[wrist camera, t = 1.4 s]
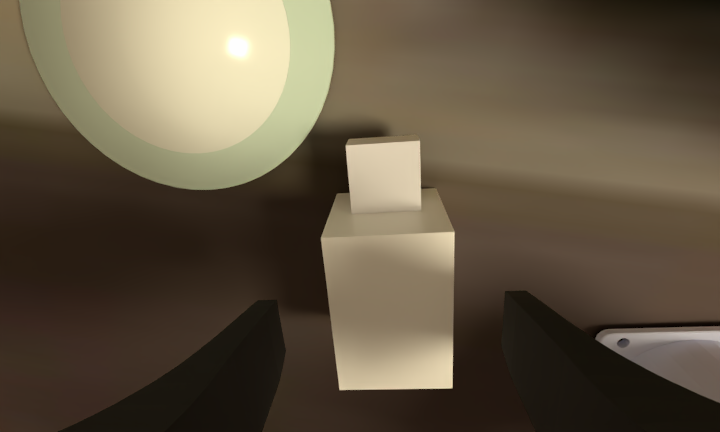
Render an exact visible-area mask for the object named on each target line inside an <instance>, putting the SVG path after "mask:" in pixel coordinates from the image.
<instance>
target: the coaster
mask: <svg viewBox="0 0 720 432" xmlns="http://www.w3.org/2000/svg"><path fill="white" fill-rule="evenodd" d="M19 2H20V11H21V16H22V22H23V27H24V32H25V35H26V39H27V42H28V45H29V49H30V52H31V55H32V57H33V60H34V62H35V64H36V67H37V69H38V72H39V74H40V76H41V78H42V80H43V81H44V83H45V85H46V87H47V89H48V91H49V93H50V94H51V96H52V97H53V99H54V100H55V102H56V103H57V105H58V106H59V108H60V109H61V111H62V112H63V113H64V115H65V116H66V117H67V118H68V119H69V121H70V122H71V123H72V124H73V126H74V127H75V128H76V129H77V130H78V131H79V132H80V133H81V134H82V135H83V136H84V137H85V138H86V139H87V140H88V141H89V142H90V143H91V144H92V145H93V146H95V147H96V148H97V149H98V150H100V151H101V152H102V153H103V154H104V155H106V156H107V157H109V158H110V159H112V160H113V161H115V162H116V163H118V164H119V165H121V166H122V167H124V168H126V169H128V170H130V171H132V172H134V173H136V174H137V175H139V176H142V177H144V178H147V179H149V180H152V181H155V182H157V183H161V184H165V185H169V186H172V187H177V188H184V189H192V190H213V189H221V188H229V187H232V186H236V185H240V184H244V183H246V182H249V181H251V180H254V179H256V178H258V177H261V176H262V175H264V174H266V173H267V172H269V171H271V170H272V169H274V168H276V167H277V166H278V165H279V164H280V163H282V162H283V161H284V160H285V159H287V158H288V157H289V156H290V155H291V154H292V153H293V152H294V151H295V150H296V149H297V148H298V147H299V145H300V144H301V143H302V142H303V141H304V140H305V138H306V137H307V135H308V134H309V133H310V131H311V130H312V128H313V127H314V125H315V123H316V121H317V119H318V117H319V115H320V113H321V111H322V109H323V107H324V104H325V101H326V98H327V95H328V93H329V89H330V85H331V80H332V75H333V71H334V60H335V25H334V18H333V12H332V5H331V1H330V0H19Z"/></svg>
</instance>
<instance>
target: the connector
mask: <svg viewBox="0 0 720 432" xmlns="http://www.w3.org/2000/svg"><path fill="white" fill-rule="evenodd" d="M346 156H347V167H348V178H349V189H350V193H338V194H337V195H336V198H335V200H334V203H333V206H332V209H331V211H330V214H329V217H328V220H327V222H326V225H325V228H324V230H323V233H322V236H321V244H322V252H323V260H324V268H325V277H326V285H327V293H328V301H329V309H330V317H331V325H332V333H333V341H334V349H335V357H336V365H337V373H338V382H339V390H377V389H448V388H453V309H454V230H453V227H452V225H451V223H450V220H449V218H448V216H447V213H446V211H445V208H444V206H443V204H442V201H441V199H440V197H439V194H438V192H437V190H436V188H427V189H421V172H420V140H419V138H418V136H417V135H402V136H387V137H372V138H357V139H348V142H347V144H346Z"/></svg>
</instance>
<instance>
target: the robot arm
mask: <svg viewBox="0 0 720 432" xmlns="http://www.w3.org/2000/svg"><path fill="white" fill-rule="evenodd" d="M623 338H624V339H623ZM620 339H623V340H622V341H620V342H618V341H619V340H620ZM501 346H502V349H503V353H504V356H505V360H506V363H507V366H508V369H509V372H510V375H511V378H512V380H513V382H514V384H515V387H516V389H517V391H518V393H519V396H520V398H521V400H522V402H523V404H524V407H525V409H526V411H527V413H528V415H529V418H530V420H531V422H532V424H533V426H534V428H535V431H536V432H720V326H704V327H665V328H627V329H606V330H603V331H601V332H599V333H598V334H597V336H596V338H595V339H594V338H592V337H591V336H589V335H588V334H586V333H585V332H583V331H582V330H580V329H579V328H577V327H576V326H574V325H573V324H572V323H570V322H569V321H567V320H566V319H564V318H563V317H562V316H560V315H559V314H557V313H556V312H555V311H553V310H552V309H551V308H549V307H548V306H547V305H545V304H544V303H542V302H541V301H540V300H538V299H537V298H536V297H534V296H533V295H531V294H530V293H528V292H527V291H505V301H504V315H503V328H502V342H501ZM285 352H286V350H285V344H284V339H283V333H282V328H281V322H280V317H279V311H278V306H277V300H258V301H257V302H256V303H254V304H253V305H252V306H251V307H249V308H248V309H247V310H246V311H245V312H244V313H243V314H241V315H240V316H239V317H238V318H237V319H236V320H235V321H233V322H232V323H231V324H230V325H229V326H228V327H226V328H225V329H224V330H223V331H222V332H221V333H219V334H218V335H217V336H216V337H215V338H214V339H212V340H211V341H210V342H208V343H207V344H206V345H205V346H203V347H202V348H201V349H200V350H198V351H197V352H196V353H194V354H193V355H192V356H191V357H189V358H188V359H187V360H185V361H184V362H183V363H181V364H180V365H178V366H177V367H175V368H174V369H172V370H171V371H169V372H168V373H166V374H165V375H163V376H162V377H160V378H159V379H157V380H156V381H154V382H153V383H151V384H149V385H148V386H146V387H144V388H142V389H141V390H139V391H137V392H135V393H134V394H132V395H130V396H128V397H127V398H125V399H123V400H122V401H120V402H118V403H116V404H114V405H112V406H110V407H109V408H107V409H105V410H103V411H101V412H99V413H97V414H95V415H93V416H91V417H89V418H87V419H84V420H82V421H80V422H78V423H76V424H74V425H72V426H70V427H67V428H65V429H63V430H61V431H58V432H262V430H263V427H264V424H265V421H266V418H267V416H268V413H269V410H270V407H271V404H272V401H273V398H274V396H275V393H276V390H277V387H278V384H279V381H280V376H281V372H282V367H283V362H284V357H285Z"/></svg>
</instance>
